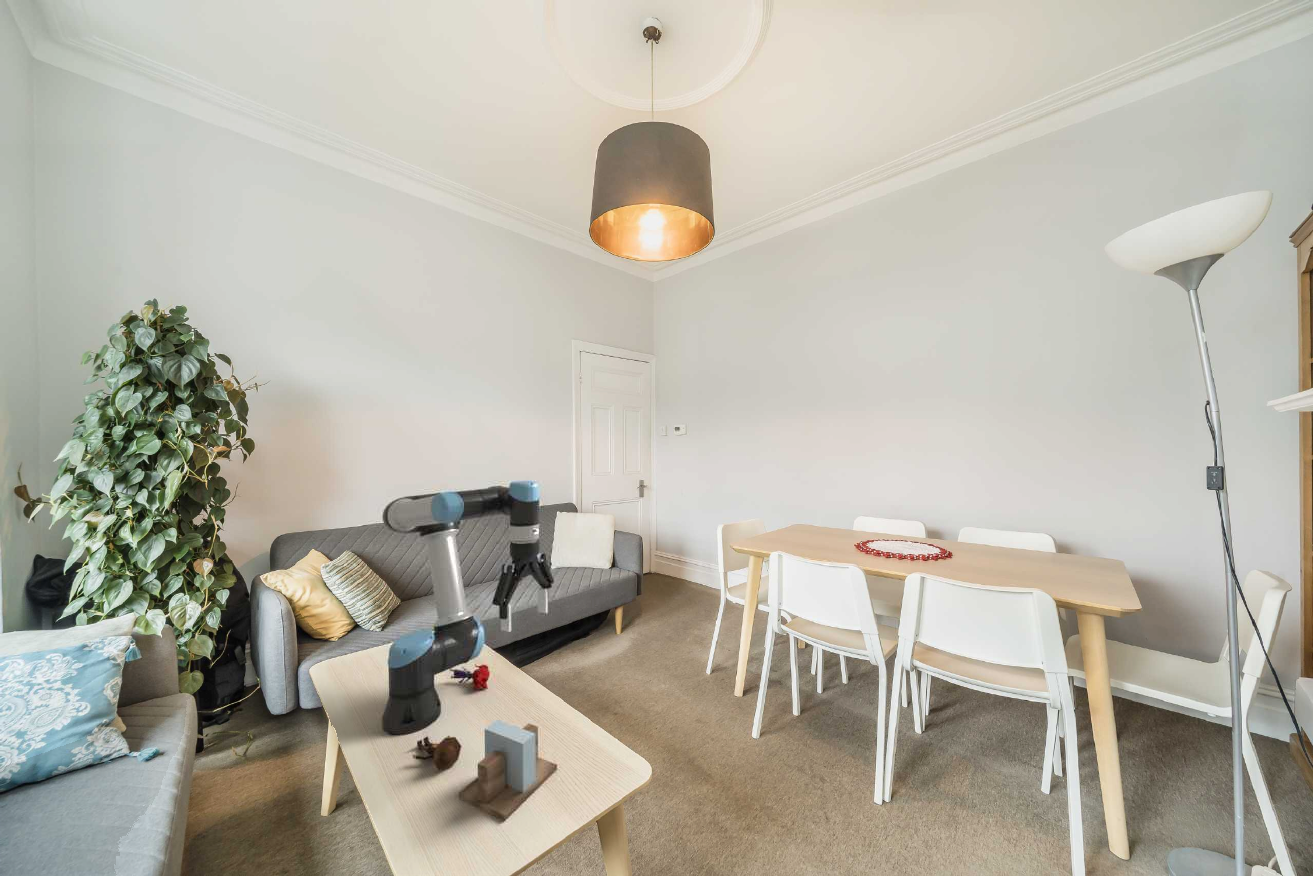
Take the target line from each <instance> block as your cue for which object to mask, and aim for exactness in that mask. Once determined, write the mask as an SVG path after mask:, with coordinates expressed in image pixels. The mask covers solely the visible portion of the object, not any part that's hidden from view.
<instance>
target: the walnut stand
mask: <svg viewBox="0 0 1313 876" xmlns="http://www.w3.org/2000/svg"><path fill="white" fill-rule="evenodd" d="M521 729H524V730H527V731H529V732H532V733H535V757H536V781H535V782H534V783H533V784H532V785H531V786H530V787H529V788H528V789H527V790H526V791H525V792H524V793H523V792H521V791H519V790H516V789H514V788H512V787H510V786H508V785H505V754H504V753H502V752H499V751H497V750H494V751H493V752H492V753H490V754H489V755H488V756H486V757H485V756H484V758H482V760H480V761H478V763H477V777H476V778H475V779H474V780H472V781H471V782H470V783H469V784H467V786H465V787H463V789H461V790H460V791H458V799H460V800H462V801H463V802H467V803H468V804H470V805H472V806H474V807H476V808H478V809H480V810H482V811H484V812H486V813H487V814H490V815H492V816H494V817H496V818H498V819H499V820H502V821H504V822H506V821H507V819H509V817H511V816H512V815H513V814H514V812H516V810H517V809H519V808H520V807H521V806H522V805H523V804H524V803H525V802H526V801H527V800H528V799H529V798H530V796H532V795H533V794H534V793H535V792H536V791H537V790H538V789H539V788H540V787H541V786H542V785H543V784H544V783H545V782H546V781H547V780H548V779H549V778H550V777H551V776H552V775H553V774H554V773H556V771H557V770H558V764H556V763H554V762H552V761H549V760H546V759H544V758H541V757H539V727H538V726H537V725H534V724H531V723H527V724H526V725H525V726H523V727H521Z"/></svg>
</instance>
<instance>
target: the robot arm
mask: <svg viewBox="0 0 1313 876" xmlns="http://www.w3.org/2000/svg"><path fill="white" fill-rule="evenodd" d="M539 491H540V490H539V483H538V482H537V481H533V480H517V481H512V482H510V483H509V487H506V486H502V485H494V486H492V485H491V486H489V487H487V488H479V489H478V488H477V489H470V490H459V491H457V490H456V491H446V492H445V491H444V492H437V493H436V492H435V493H429V494H427V493H426V494H417V495H407V496H402V497H399V498H396V499H394V500H392V501H391V502H389V503H387V505H386V506H385V508H384V509H383V512H382V522H383V524H384V526H385V527H386V528H387V529H388V530H389V531H391V532H393V533H397V534H402V535H403V534H415V533H419V537H420V539H421V540H422V541H424V542H425V543H426V549H427V555H428V560H429V567H430V576H431V582H432V588H433V595H434V600H435V608H436V615H437V619H436V621H435V623H433V631H432V630H430V629H420V630H414V631H411V632H408V633H405V634H403V635H402V636H400V637H399V638H397V639H396V640H395V641H393V642H392V644H391V645H390V646H389V649H388V659H387V666H388V699H387V701H386V705H385V708H384V711H383V714H382V717H381V728H382V730H383V731H384V732H385V733H387V734H390V735H405V734H406V735H407V734H411V733H414V732H417V731H421V730H422V729H425V728H427V727H429V726H430V725H432V724H433V723H435V722H436V721H437V720H438V718H439V717H440V716H441V714H442V704H441V703H442V702H441V700H440V699H441V698H440V697H439V695H438V692H437V690H436V687H435V676H436V675H437V674H440V673H444V672H446V671H448V670H450V669H451V668H452V669H453V668H455V667H458V666H460V665H462V664H467V663H468V662H470V661H472V660H474V659H476V658H478V657H479V656H480V654H481V653H482V650H483V649H484V645H485V629H484V626H483V625H482V622H481V621H480V620H479V619H476V618H474V613H472V612H470V611H469V610H468V607H467V602H466V595H465V589H464V582H463V577H462V570H461V563H460V558H459V553H458V546H457V545H458V544H457V540H456V536H457V534H458V533H459V531H460V526H461V525H462V524H463V522H464V521H468V520H474V519H479V518H480V519H481V518H487V517H494V516H500V515H501V516H502V515H503V516H509V540H510V542H509V556H510V557H511V559H512V561H511V563H509V564H507V563H503V564H502V565H501V574H500V577H499V581H498V584H497V586H496V589H495V593H494V596H493V597H492V598H493V599H492V602H491V604H492V605H494V606H498V609H499V610H498V614H499V615H498V616H499V619H500V630H501V631H503V632H508V633H510V632H512V604H510V602H511V600H512V598H513V596H514V594H515V591H516V589H517V588H518V585H519V583H520V582H521V581H522V580H523V579H524V578H527V577H528V576H532V578H534V580H535V582H536V583H537V584H538V585H539V586H540V587H538V588H537V603H538V604H537V609H538V610H537V613H543V614H548V613H549V612H548V608H549V607H548V602H549V600H548V599H549V589H552V587H553V585H552V584H554V583H555V580H554V577H553V575H552V572H551V569H550V567H549V564H548V562H547V556H546V555H547V554H546V553H542V552H540V540H539V539H540V497H541V496H540V493H539Z"/></svg>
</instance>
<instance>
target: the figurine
mask: <svg viewBox="0 0 1313 876" xmlns="http://www.w3.org/2000/svg"><path fill="white" fill-rule="evenodd" d="M474 666H475V667H476V669H474V670H473V672H472V671H470V670H468V669H467V668H465V667H464V666H461V668H462V669H463V670H462V669H456V668H455V669H453V668H450V669H449V672H453V674H452V675H451V676H450V679H458V683H459V684H461V683H463V682H464V683H467V682H468V681H469V680H471V679H472V682H471V683H469V685H470V686H473V691H478V690H479V688H482V689H484V690H488V689H489V687H488V684H487V682H488V680H489V679H490V675H491V674H490V670H489V666H488V665H487V664H482V665H477V664H474ZM459 679H461V680H459ZM465 679H466V680H465Z"/></svg>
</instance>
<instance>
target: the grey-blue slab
mask: <svg viewBox="0 0 1313 876" xmlns="http://www.w3.org/2000/svg"><path fill="white" fill-rule="evenodd" d="M494 750H497V751H499V752H502V753H504V754H505V785H508V786H510V787H512V788H514V789H516V790H519V791H521V792H523V793H524V792H525V791H526V790H527V789H528V788H529V787H530V786H531V785H532V784H533V783H534V782H535V781H536V757H535V733H532V732H529V731H527V730H524V729H522V727H519V726H515V725H513V724H511V723H507V722H505V721H502V720H499V719H496V720H495V721H493V722H492V723H491V724H489V725H488V726H486V727H485V728H484V758H485V757H486V756H488V755H489V754H490V753H492V752H493V751H494Z"/></svg>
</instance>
